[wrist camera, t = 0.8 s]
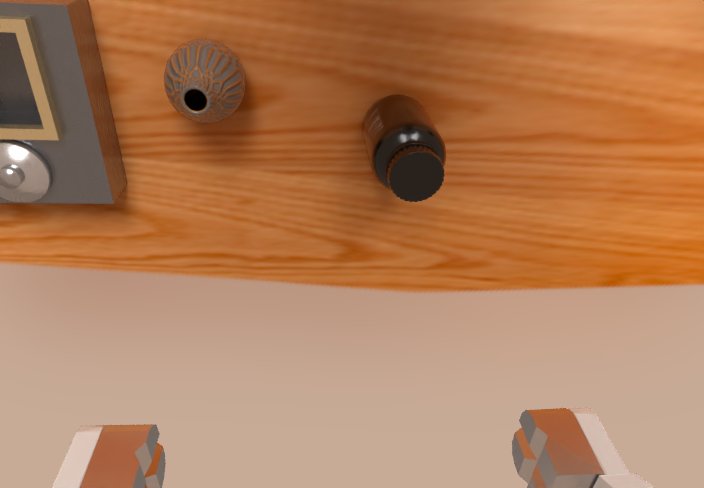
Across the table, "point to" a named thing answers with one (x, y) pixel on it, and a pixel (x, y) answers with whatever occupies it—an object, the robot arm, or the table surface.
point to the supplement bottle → (404, 147)
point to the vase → (204, 80)
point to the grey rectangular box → (55, 107)
